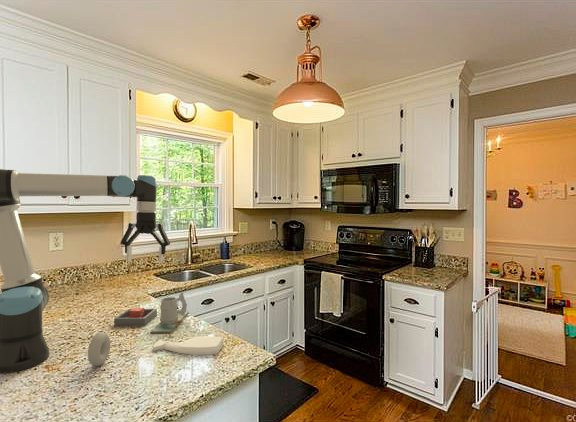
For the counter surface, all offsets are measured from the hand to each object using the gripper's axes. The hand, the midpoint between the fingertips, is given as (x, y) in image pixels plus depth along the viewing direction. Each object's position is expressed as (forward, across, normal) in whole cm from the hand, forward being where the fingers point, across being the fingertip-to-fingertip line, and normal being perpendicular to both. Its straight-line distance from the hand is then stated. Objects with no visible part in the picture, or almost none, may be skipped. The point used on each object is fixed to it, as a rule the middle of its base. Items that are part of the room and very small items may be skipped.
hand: (145, 261), depth 137 cm
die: (+27, +6, -6) cm, 28 cm away
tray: (+28, +6, -7) cm, 29 cm away
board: (+27, -10, -4) cm, 29 cm away
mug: (+26, -12, -4) cm, 29 cm away
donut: (+28, -1, +33) cm, 43 cm away
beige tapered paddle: (+28, -25, +21) cm, 43 cm away
